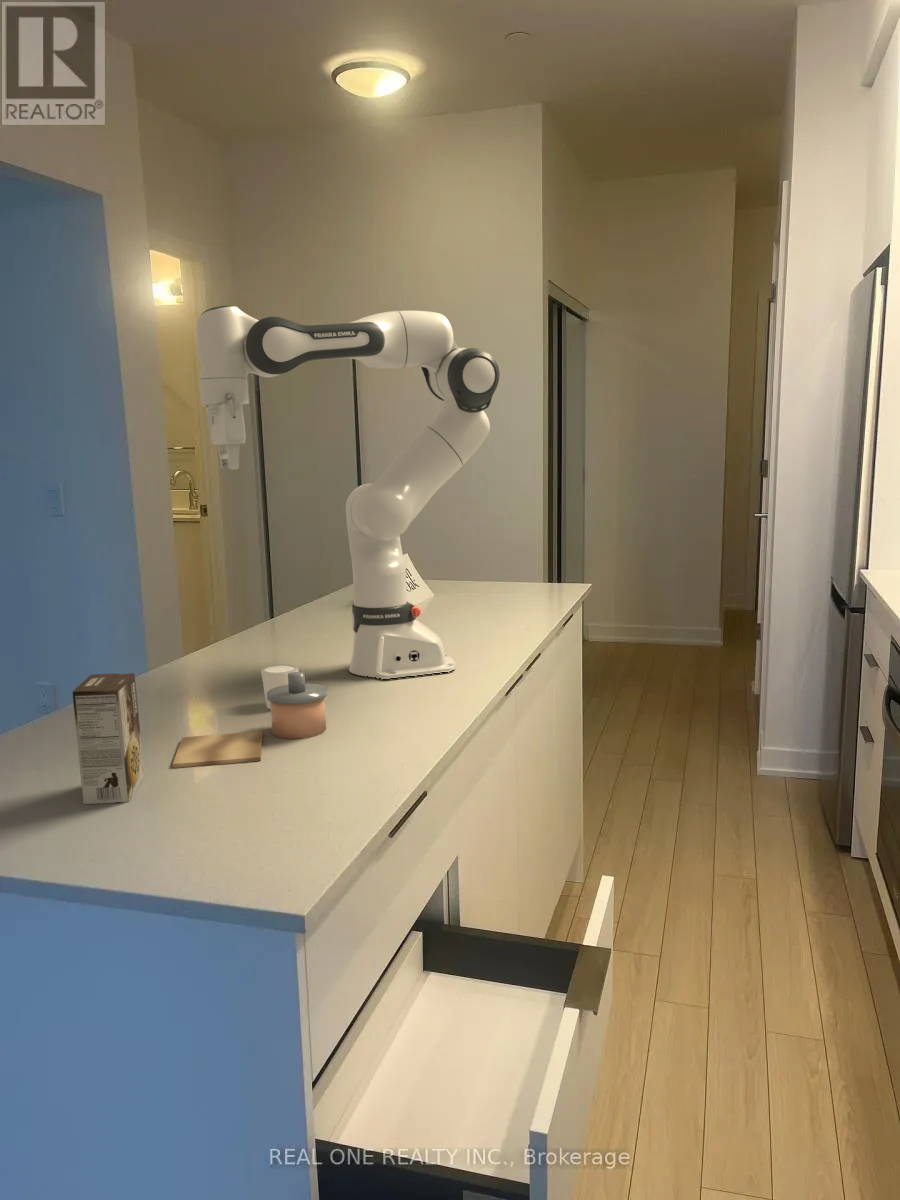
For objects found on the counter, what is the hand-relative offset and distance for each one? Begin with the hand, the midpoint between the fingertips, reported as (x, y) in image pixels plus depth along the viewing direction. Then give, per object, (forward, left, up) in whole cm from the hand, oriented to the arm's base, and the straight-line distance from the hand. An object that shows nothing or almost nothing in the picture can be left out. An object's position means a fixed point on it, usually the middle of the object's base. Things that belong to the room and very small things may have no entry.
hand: (230, 468), depth 177 cm
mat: (+2, +39, -43) cm, 58 cm away
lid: (-10, +32, -37) cm, 50 cm away
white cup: (-7, +16, -43) cm, 47 cm away
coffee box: (+16, +54, -43) cm, 71 cm away
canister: (-10, +32, -43) cm, 54 cm away
